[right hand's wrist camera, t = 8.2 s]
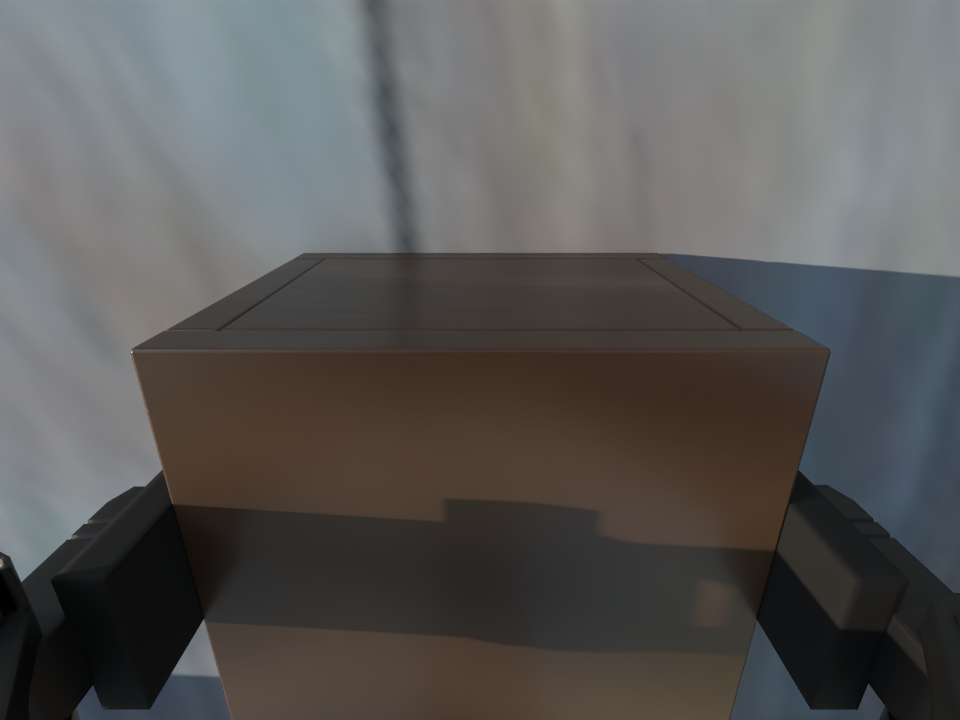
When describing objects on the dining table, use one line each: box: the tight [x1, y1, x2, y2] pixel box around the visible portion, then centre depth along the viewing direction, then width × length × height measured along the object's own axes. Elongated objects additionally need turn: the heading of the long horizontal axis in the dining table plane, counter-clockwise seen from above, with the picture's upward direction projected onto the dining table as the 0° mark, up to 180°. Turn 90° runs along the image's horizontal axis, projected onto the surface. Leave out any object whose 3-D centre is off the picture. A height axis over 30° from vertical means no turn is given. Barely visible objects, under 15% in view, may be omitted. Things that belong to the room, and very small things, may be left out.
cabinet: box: [131, 253, 830, 720], centre depth 16 cm, size 22×11×8 cm, turn 0°
